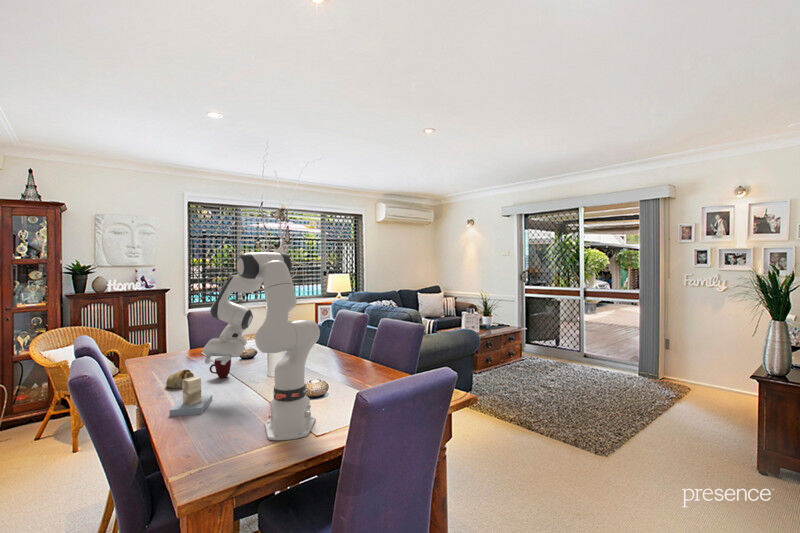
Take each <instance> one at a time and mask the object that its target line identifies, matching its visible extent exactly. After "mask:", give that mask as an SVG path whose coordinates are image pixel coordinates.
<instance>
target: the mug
mask: <svg viewBox="0 0 800 533" xmlns="http://www.w3.org/2000/svg"><path fill="white" fill-rule="evenodd" d="M225 358H226V357H221V356H219V357H216V358H215V359H214V363H213V364H211V365H210V367H209V372H210V373H211V374H214V375H216V376H218V378H219V379H226V378H228V376H229V374H230V371H231V366H232V358H231V359H230V360H229V361H228V362H226V364H225V365H222V364H221V361H222V360H224V359H225ZM213 367H214V368H215V371H213V370H212V368H213Z"/></svg>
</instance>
